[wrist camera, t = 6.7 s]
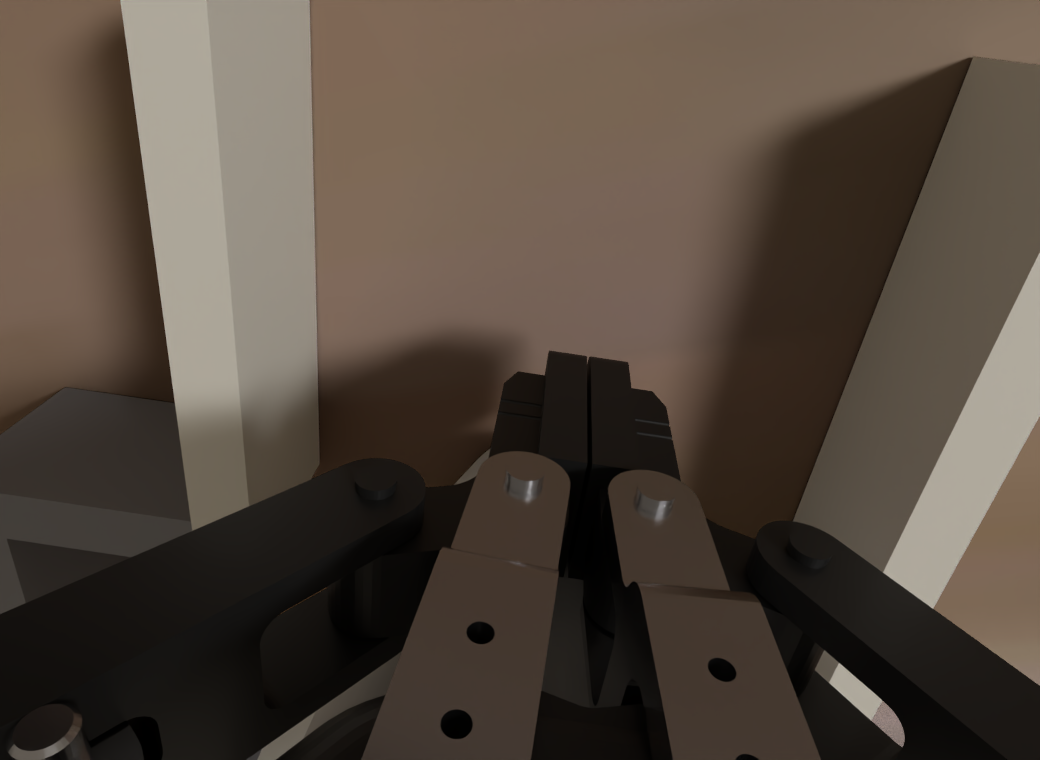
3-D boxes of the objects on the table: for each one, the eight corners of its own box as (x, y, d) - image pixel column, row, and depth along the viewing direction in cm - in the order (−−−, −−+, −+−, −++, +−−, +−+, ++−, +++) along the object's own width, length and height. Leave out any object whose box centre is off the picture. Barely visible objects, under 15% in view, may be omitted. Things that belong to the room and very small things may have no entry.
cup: (738, 602, 19) (870, 1123, 10) (457, 644, 21) (362, 1121, 12) (682, 338, 15) (809, 784, 7) (348, 414, 17) (97, 849, 8)
